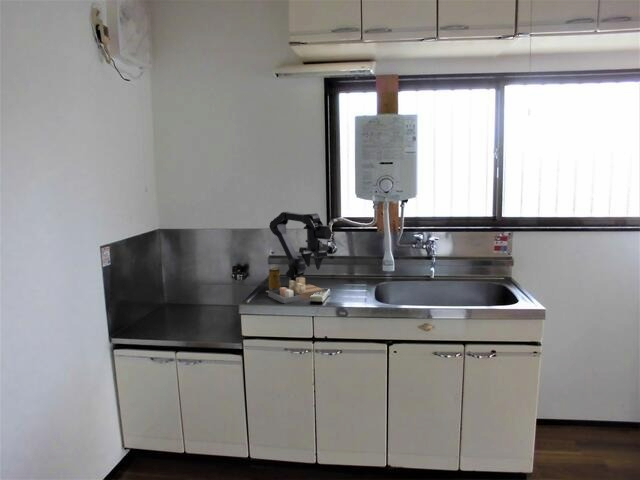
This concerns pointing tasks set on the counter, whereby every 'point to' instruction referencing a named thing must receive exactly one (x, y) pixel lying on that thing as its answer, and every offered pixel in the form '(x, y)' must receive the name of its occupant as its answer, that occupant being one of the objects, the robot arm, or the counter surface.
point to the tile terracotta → (282, 291)
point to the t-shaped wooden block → (297, 284)
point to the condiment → (274, 279)
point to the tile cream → (288, 293)
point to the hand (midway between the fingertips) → (313, 268)
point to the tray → (281, 299)
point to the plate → (308, 291)
